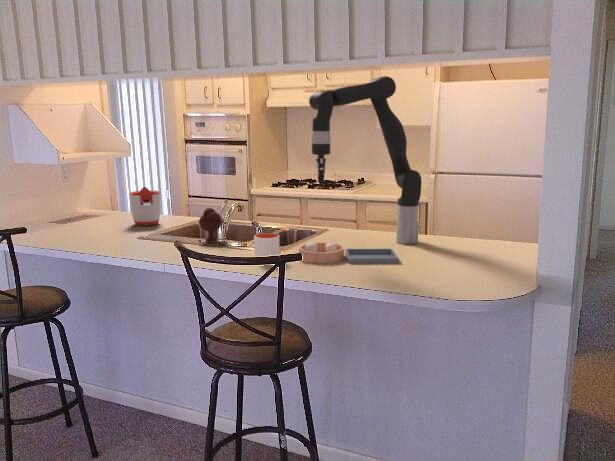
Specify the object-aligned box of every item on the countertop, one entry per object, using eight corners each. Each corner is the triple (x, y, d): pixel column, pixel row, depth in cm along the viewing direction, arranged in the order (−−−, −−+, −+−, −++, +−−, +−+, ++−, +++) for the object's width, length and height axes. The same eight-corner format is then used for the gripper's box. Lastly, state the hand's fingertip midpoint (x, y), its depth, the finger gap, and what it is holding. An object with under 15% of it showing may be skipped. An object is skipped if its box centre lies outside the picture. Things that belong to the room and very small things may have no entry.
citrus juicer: (132, 228, 287) (130, 189, 282) (130, 222, 303) (127, 185, 298) (164, 226, 292) (162, 188, 288) (160, 220, 308) (158, 184, 304)
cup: (282, 257, 230) (282, 233, 228) (275, 263, 221) (275, 239, 219) (259, 256, 233) (258, 232, 230) (251, 262, 223) (250, 237, 221)
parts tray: (391, 254, 235) (392, 248, 234) (398, 264, 220) (398, 258, 219) (345, 254, 235) (345, 248, 234) (348, 264, 219) (348, 258, 219)
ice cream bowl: (194, 241, 258) (193, 209, 255) (209, 236, 268) (208, 205, 265) (213, 244, 253) (211, 211, 250) (227, 239, 263) (226, 207, 260)
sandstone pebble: (336, 254, 231) (336, 243, 230) (337, 257, 227) (337, 245, 225) (325, 254, 231) (325, 243, 230) (325, 257, 226) (325, 245, 225)
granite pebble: (316, 254, 231) (316, 242, 230) (317, 257, 227) (317, 245, 226) (305, 254, 231) (305, 243, 230) (306, 257, 226) (305, 245, 225)
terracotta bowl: (341, 252, 238) (341, 242, 237) (344, 264, 220) (345, 252, 219) (299, 252, 238) (299, 242, 237) (299, 264, 220) (299, 253, 219)
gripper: (331, 143, 220) (330, 184, 223) (329, 141, 234) (329, 180, 237) (312, 143, 220) (312, 184, 223) (311, 141, 234) (311, 180, 237)
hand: (320, 182), depth 230 cm, fingers open, 8 cm apart
